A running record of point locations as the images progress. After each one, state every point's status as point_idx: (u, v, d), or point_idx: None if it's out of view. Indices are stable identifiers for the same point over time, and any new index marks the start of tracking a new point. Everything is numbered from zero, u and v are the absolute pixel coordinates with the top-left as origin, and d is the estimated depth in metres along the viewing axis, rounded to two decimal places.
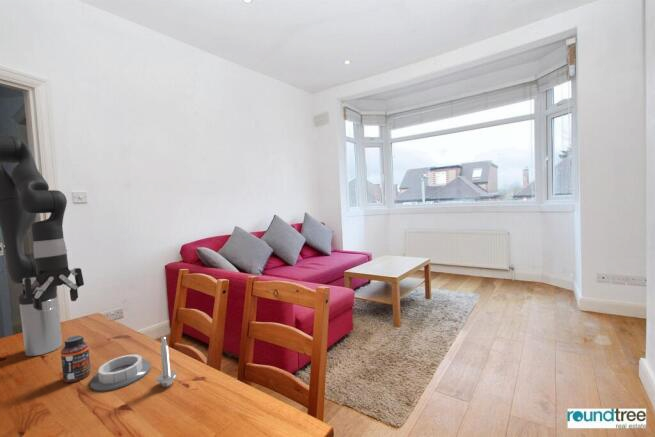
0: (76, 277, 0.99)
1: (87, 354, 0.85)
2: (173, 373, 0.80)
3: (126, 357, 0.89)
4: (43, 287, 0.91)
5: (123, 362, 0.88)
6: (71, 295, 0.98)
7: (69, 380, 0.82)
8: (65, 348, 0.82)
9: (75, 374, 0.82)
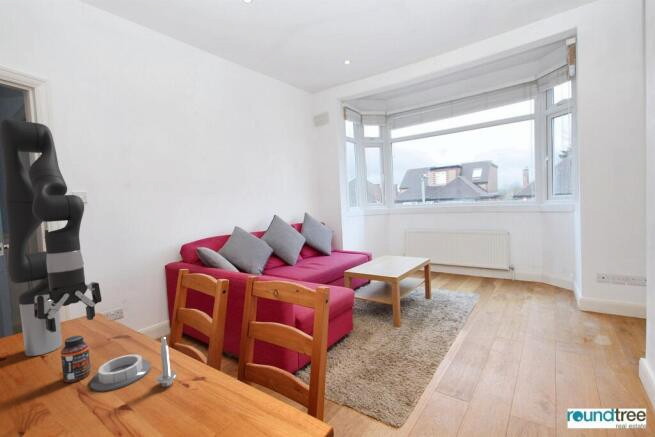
0: (93, 293, 0.88)
1: (87, 354, 0.85)
2: (173, 373, 0.80)
3: (126, 357, 0.89)
4: (57, 306, 0.80)
5: (123, 362, 0.88)
6: (88, 313, 0.87)
7: (69, 380, 0.82)
8: (65, 348, 0.82)
9: (75, 374, 0.82)
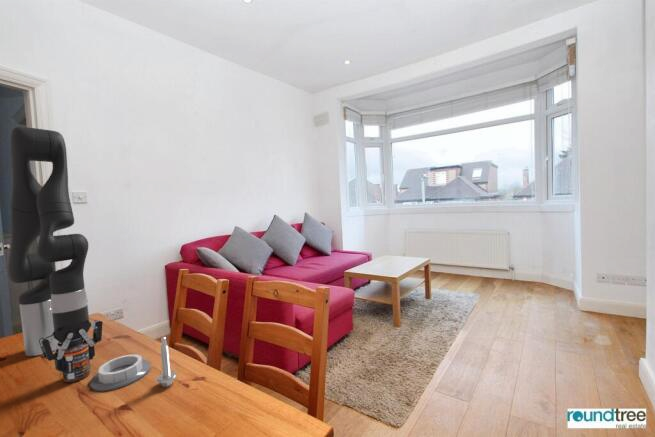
0: (95, 331, 0.89)
1: (87, 354, 0.85)
2: (173, 373, 0.80)
3: (126, 357, 0.89)
4: (64, 346, 0.81)
5: (123, 362, 0.88)
6: None
7: (69, 380, 0.82)
8: None
9: (75, 374, 0.82)
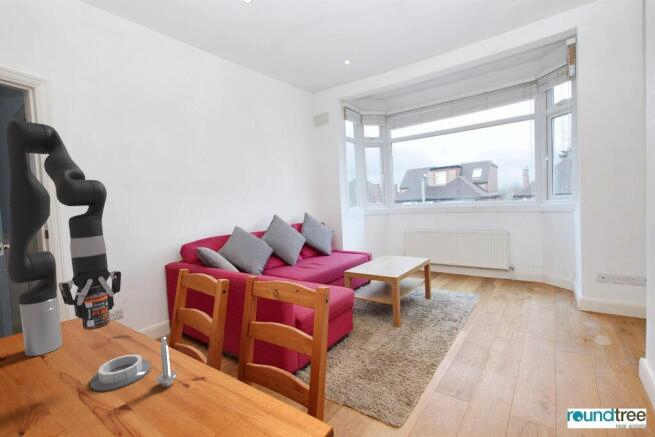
0: (114, 281, 0.87)
1: (106, 303, 0.84)
2: (173, 373, 0.80)
3: (126, 357, 0.89)
4: (84, 292, 0.79)
5: (123, 362, 0.88)
6: None
7: (89, 327, 0.80)
8: None
9: (95, 322, 0.81)
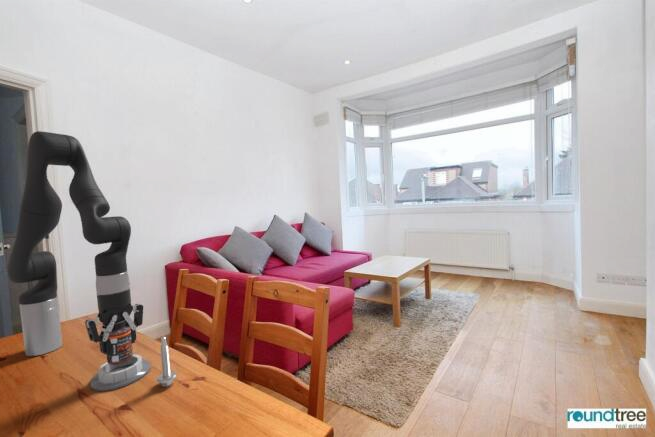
0: (136, 315, 0.88)
1: (130, 337, 0.85)
2: (173, 373, 0.80)
3: None
4: (109, 328, 0.81)
5: None
6: None
7: (114, 363, 0.82)
8: None
9: (119, 357, 0.82)
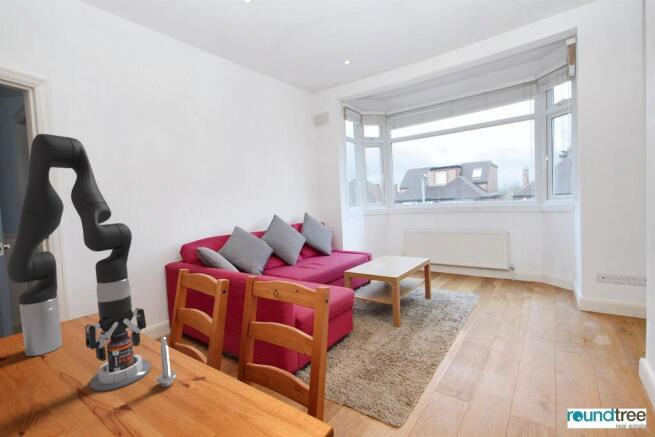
0: (138, 319, 0.89)
1: (132, 349, 0.85)
2: (173, 373, 0.80)
3: None
4: (107, 335, 0.80)
5: None
6: (133, 339, 0.88)
7: None
8: (111, 343, 0.83)
9: (121, 369, 0.82)
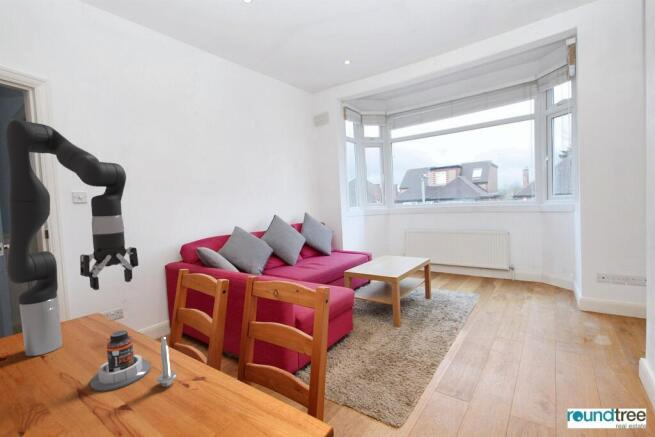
0: (131, 257, 0.94)
1: (132, 349, 0.85)
2: (173, 373, 0.80)
3: None
4: (101, 266, 0.85)
5: None
6: (126, 275, 0.93)
7: None
8: (111, 343, 0.83)
9: (121, 369, 0.82)
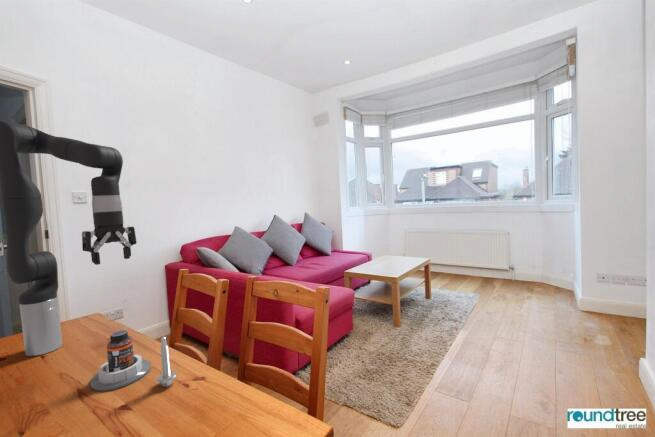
0: (129, 235, 1.00)
1: (132, 349, 0.85)
2: (173, 373, 0.80)
3: None
4: (101, 242, 0.91)
5: None
6: (125, 253, 0.99)
7: None
8: (111, 343, 0.83)
9: (121, 369, 0.82)
